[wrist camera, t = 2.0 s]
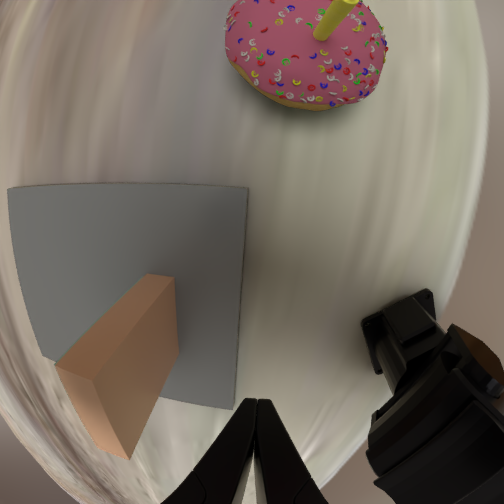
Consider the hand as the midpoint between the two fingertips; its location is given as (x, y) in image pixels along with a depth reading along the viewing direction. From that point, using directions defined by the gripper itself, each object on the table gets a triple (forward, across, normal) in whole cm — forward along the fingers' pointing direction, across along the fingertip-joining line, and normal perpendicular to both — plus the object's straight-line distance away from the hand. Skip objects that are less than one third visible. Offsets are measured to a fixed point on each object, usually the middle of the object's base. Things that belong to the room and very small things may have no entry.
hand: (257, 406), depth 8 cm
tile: (+11, +8, +4) cm, 14 cm away
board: (+12, +14, +4) cm, 19 cm away
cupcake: (+12, -2, -14) cm, 19 cm away
